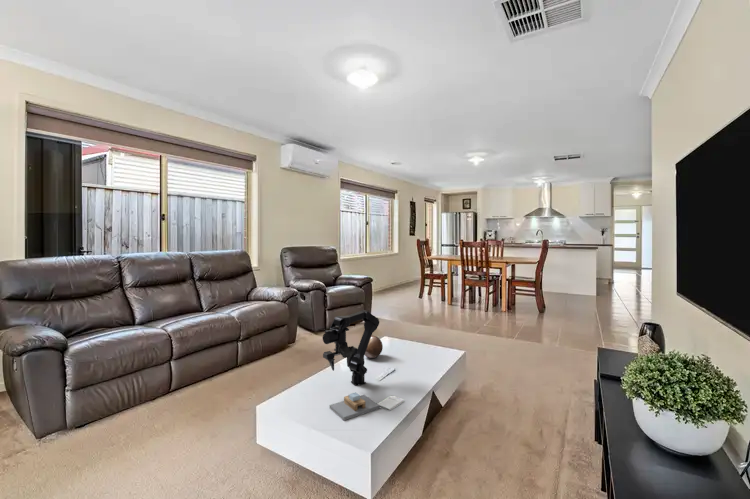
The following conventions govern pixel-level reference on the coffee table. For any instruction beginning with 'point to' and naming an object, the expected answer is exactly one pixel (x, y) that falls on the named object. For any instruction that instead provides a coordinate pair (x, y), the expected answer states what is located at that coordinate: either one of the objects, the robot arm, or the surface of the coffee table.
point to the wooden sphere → (374, 347)
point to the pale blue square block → (354, 396)
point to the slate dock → (348, 413)
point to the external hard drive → (390, 402)
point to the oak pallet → (354, 403)
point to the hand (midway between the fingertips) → (340, 368)
